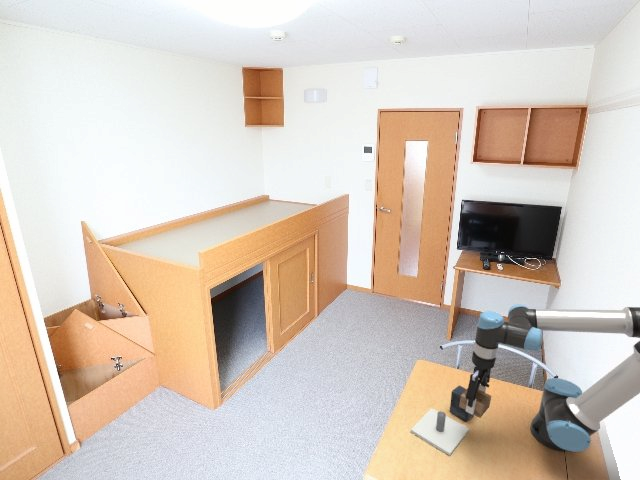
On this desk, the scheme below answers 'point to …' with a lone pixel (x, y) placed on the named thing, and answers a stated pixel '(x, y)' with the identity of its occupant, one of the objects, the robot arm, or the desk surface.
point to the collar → (477, 402)
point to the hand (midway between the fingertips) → (474, 406)
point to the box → (455, 404)
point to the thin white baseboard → (440, 431)
